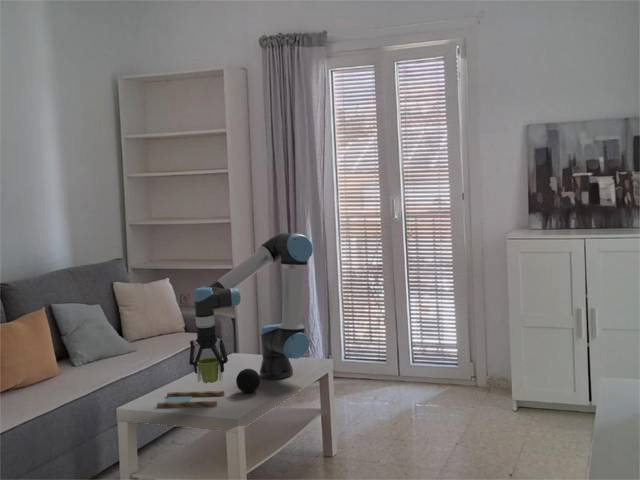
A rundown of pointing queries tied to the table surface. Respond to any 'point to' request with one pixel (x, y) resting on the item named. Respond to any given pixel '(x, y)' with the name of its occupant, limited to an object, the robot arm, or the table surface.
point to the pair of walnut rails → (191, 404)
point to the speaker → (248, 380)
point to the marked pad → (178, 399)
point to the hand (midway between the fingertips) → (210, 380)
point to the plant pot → (209, 369)
